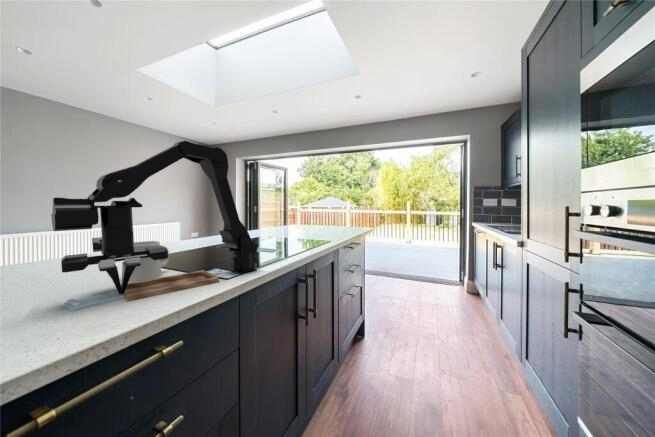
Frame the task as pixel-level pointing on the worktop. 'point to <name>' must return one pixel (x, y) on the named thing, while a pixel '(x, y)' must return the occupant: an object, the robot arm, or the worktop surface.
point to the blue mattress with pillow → (92, 301)
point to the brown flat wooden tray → (168, 284)
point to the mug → (147, 263)
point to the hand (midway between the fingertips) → (121, 293)
